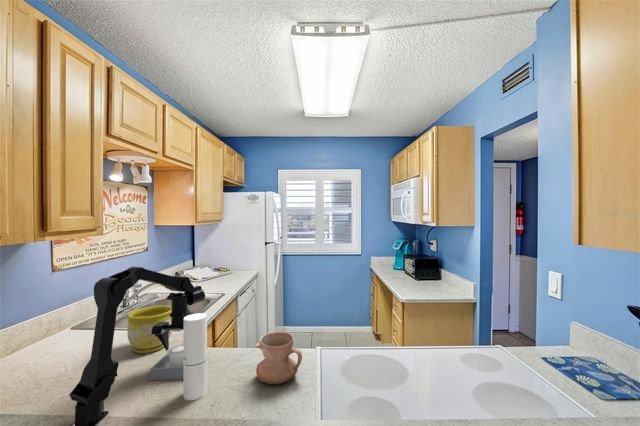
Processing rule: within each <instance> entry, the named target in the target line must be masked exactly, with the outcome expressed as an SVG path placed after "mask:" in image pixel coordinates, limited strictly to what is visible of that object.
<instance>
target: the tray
mask: <svg viewBox="0 0 640 426" xmlns="http://www.w3.org/2000/svg"><path fill="white" fill-rule="evenodd" d="M183 367H184V366H180V367H170V357H169V351H168V352H167V353H166V354H165V355H164V356H163V357H162V358H160V359H159V360H158V362H156V363H155V364H154V365H153V366H152V367H151V368H150V371H149V372H150V377H149V379H150V381H165V380H166V381H168V380H169V381H170V380H183Z"/></svg>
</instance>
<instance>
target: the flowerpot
mask: <svg viewBox="0 0 640 426" xmlns="http://www.w3.org/2000/svg"><path fill="white" fill-rule="evenodd" d="M170 314H171V305H151V306H147V307H146V306H145V307H143V308H141V307H140V308H138V309H134V310H132V311H131V312H128V314H127V317H126V318H127V319H128V321H127V323H128V324H127V325H128V326H127V339H128V342H129V344H130V345H131V346H132V347H131V350H132V351H134V352H135V353H137V354H150V353H154V352H157V351H159V350H162V349H165V347H164V346H163V344H162V342H161V341H160V340H159V338H158V337H157V336H155V334H151V329H152V327H153V326H154V325H156V324H157V323H159V322H169V325H170V324H171V317H170ZM172 333H173V330H169V335H168V336H169V338H170V337H171V335H172Z"/></svg>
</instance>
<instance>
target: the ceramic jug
mask: <svg viewBox="0 0 640 426" xmlns="http://www.w3.org/2000/svg"><path fill="white" fill-rule="evenodd" d="M293 344H294V335H293V334H292V333H289V332H287V331H272V332H267V333H265V334H264V335H262V336H260V338H259V342H257V343H256V344H255V345H254V347H255V348H256V349H258V348H259V349H260V351H262V355H263V357H264V358H263V359H262V360H261V361H259V362H258V363H257V364H256V371H255V372H256V376H257V378H258V379H259V380H260V381H261V382H262V383H264V384H267V385H280V384H284V383H287V382H289V381H290V380H292V379H293V378H294V377H295V376H296V375H297V373H298V369H299V367H300V365H301V363H302V361H303V354H302V351H301V350H300V348H299V349H298V348H296V347H295V348H293ZM295 353H296V354H297V361H295V360H294V359H293V358H292V357H290V355H292V354H295ZM296 362H297V363H296Z"/></svg>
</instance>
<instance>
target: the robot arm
mask: <svg viewBox="0 0 640 426" xmlns="http://www.w3.org/2000/svg"><path fill="white" fill-rule="evenodd" d="M139 281H143V282H148V283H153V284H155V285H160V286H163V287H164V288H165V289H166V290H169V291H171V292H170V293H169V294H168V295H167V297H165V299H166V300H167V301H171V302H170V303H171V305H170V306H171V314H170V317H171V324H170V325H169V322H159V323H157V324H156V325H154V326H153V327H152V329H151V334H155V336H157V337H158V338H159V340H160V341H161V342H162V344H163V346H164V349H165V351H166V352H167V351H169V350H170V349H169V347H170V343H169V342H170V340H169V339H170V337H169V336H168V335H169V330H172V331H175V330H177V331H179V330H184V317H186V316H188V315H191V314H195V312H190V309H189V308H188V306H193V305H196V304H198V303H202V302H203V301H204V300H205V298H206V294H205V291H204V290H203V288H202V286H201V285H195V286H194V285H193V283H192V282H191V279H190V277H188V276H179V275H178V276H177V275H168V274H166V273H161V272H159V271H158V272H157V271H155V270H150V269H147V268H145V267H142V266H130V267H129V268H127V269H125V270H123V271H119V272H118V273H115V274H111V275H110V276H108V277H102V278H101V279H99V280H98V281H97V282H95V283H94V285H93V299H94V303H95V304H96V308H97V311H96V312H97V313H96V320H95V327H94V333H93V340H92V346H91V354H90V360H89V361H87V363H86V365H85V366H84V368H83V370H82V374H81V377H80V380H79V382H78V383H77V384H76V385H75V387H74V388H73V389H72V391H71V392H70V393H69V398H70V399H71V401H74V402H76V405H75V407H74V422H75V426H95V425H96V424H97V423H98V422H99V421H100V420H101V419H102V420H103V419H104V418H105V417H106V416H107V415H109V410H104V409H105V408H104V402H105V400H106V399H107V398H108V397H109V394H110V391H111V389H112V386H113V385H114V383H115V381H116V378H117V377H118V369H119V361H115V360H113V359H112V351H113V343H114V336H115V328H116V321H117V313H118V308H119V306H120V305H121V304H122V302H123V300H124V298H125V296H126V292H127V291H128V290H130V289H131V288H133V287H134V286H135V285H136V284H137V282H139ZM102 420H101V421H102ZM101 421H100V422H101ZM100 422H99V423H100ZM99 423H98V424H99ZM98 424H97V425H98ZM97 425H96V426H97Z"/></svg>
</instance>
